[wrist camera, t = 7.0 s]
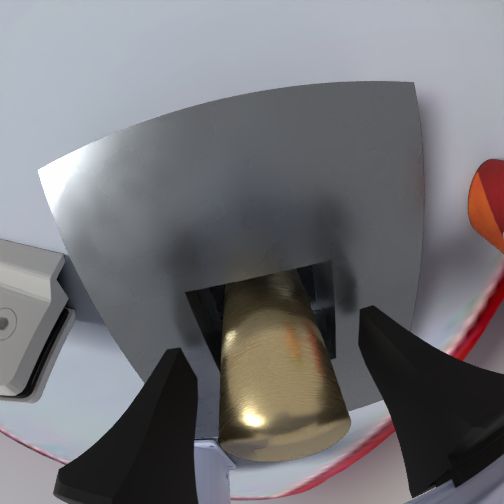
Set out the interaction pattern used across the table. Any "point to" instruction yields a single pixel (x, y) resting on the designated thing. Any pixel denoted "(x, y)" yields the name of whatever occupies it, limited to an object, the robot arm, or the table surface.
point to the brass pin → (276, 374)
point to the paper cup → (488, 202)
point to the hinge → (30, 319)
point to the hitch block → (249, 220)
